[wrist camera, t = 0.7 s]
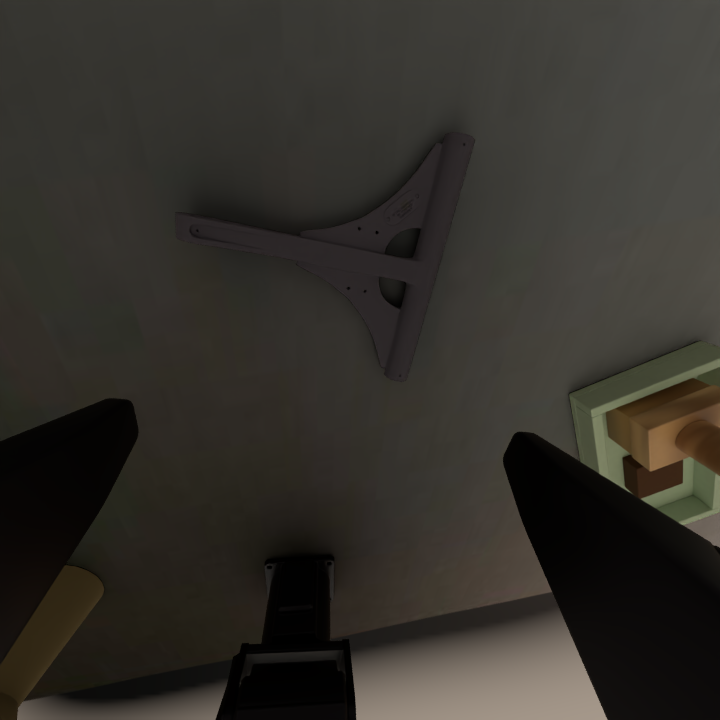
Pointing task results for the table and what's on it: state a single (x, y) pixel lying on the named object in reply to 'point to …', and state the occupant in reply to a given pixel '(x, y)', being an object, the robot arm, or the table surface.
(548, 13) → the table surface
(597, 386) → the tray
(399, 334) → the bracket
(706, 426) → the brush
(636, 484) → the dark brown block
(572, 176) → the table surface
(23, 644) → the brown pawn
